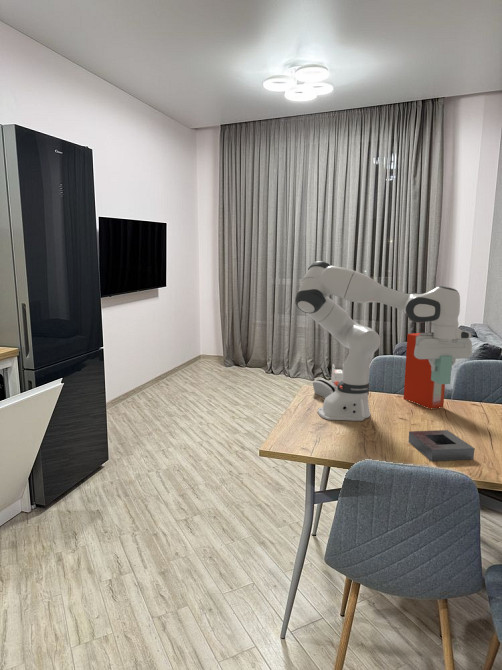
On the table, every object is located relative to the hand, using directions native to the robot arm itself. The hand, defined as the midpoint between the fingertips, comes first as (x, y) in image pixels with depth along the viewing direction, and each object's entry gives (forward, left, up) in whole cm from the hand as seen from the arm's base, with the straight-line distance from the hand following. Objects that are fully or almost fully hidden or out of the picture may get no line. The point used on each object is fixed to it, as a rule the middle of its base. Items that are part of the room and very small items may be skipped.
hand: (441, 370), depth 168 cm
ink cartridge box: (-17, +64, -28) cm, 72 cm away
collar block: (-2, -7, -27) cm, 28 cm away
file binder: (+19, +46, -28) cm, 57 cm away
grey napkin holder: (-24, +59, -28) cm, 70 cm away
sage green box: (0, 0, -4) cm, 4 cm away
